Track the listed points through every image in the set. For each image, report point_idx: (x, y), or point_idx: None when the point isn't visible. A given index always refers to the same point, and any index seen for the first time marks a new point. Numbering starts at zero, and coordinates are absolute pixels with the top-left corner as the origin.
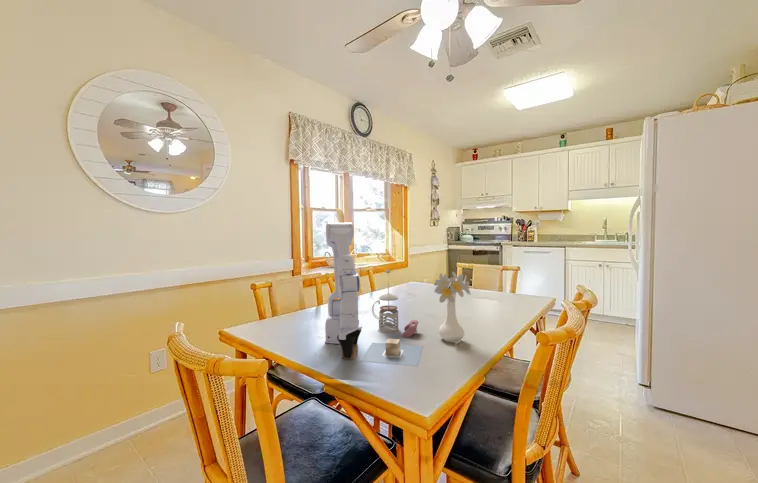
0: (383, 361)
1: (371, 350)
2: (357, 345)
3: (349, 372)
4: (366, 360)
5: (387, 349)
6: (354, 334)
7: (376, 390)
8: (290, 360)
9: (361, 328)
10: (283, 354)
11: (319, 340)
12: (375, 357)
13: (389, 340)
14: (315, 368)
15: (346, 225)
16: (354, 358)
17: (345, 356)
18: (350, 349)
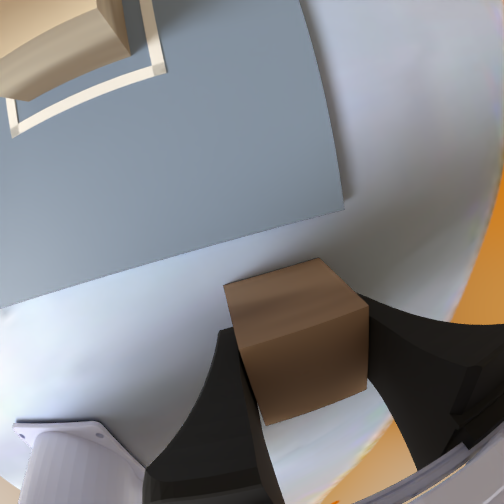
0: (274, 17)
1: (92, 235)
2: (245, 342)
3: (442, 201)
4: (314, 159)
5: (116, 18)
6: (266, 465)
7: (493, 32)
8: (364, 456)
9: (469, 469)
10: (324, 489)
11: None
12: (222, 110)
13: (4, 27)
14: None
15: None
16: (319, 268)
17: None
18: (402, 317)
